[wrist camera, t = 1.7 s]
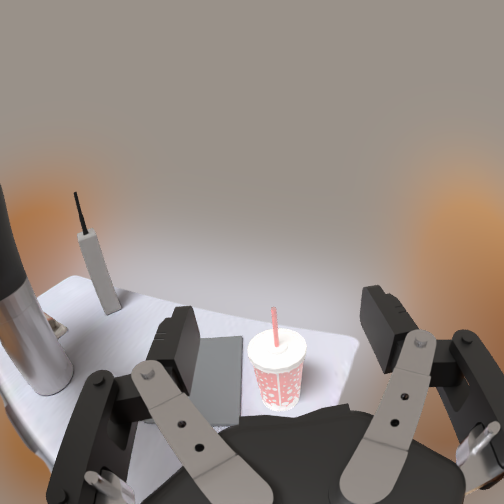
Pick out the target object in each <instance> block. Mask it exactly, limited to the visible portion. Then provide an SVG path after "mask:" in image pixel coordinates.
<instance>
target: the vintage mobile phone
mask: <svg viewBox="0 0 504 504" xmlns="http://www.w3.org/2000/svg"><path fill="white" fill-rule="evenodd" d="M74 197H75V201H76V205H77V209H78V212H79V218H80V222H81V226H82V229H83V232H80V233H78V234H77V237H78V242H79V245H80V248H81V251H82V254H83V257H84V260H85V263H86V266H87V269H88V272H89V274H90V277H91V280H92V282H93V285H94V288H95V290H96V293H97V295H98V298H99V300H100V303H101V305H102V307H103V310H104V312H105V314H106V315H108V314H111V313H113V312H115V311H118V310H120V309H121V305H120V303H119V300H118V298H117V295H116V292H115V290H114V287H113V284H112V281H111V279H110V276H109V273H108V270H107V267H106V264H105V261H104V258H103V255H102V252H101V249H100V245H99V242H98V239H97V235H96V233H95V231H94V229H93V228H91V229H88V230H87V228H86V225H85V221H84V217H83V215H82V212H81V208H80V204H79V200H78V196H77V192H74Z"/></svg>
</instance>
